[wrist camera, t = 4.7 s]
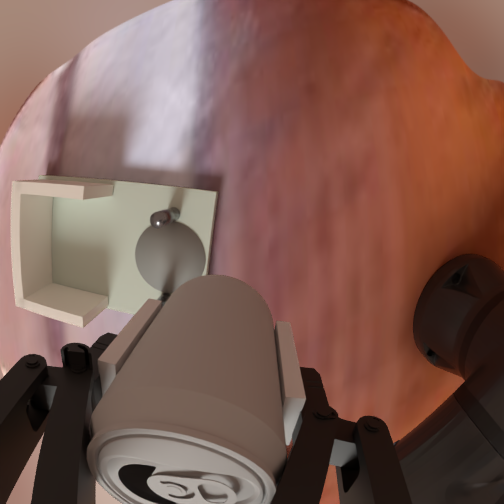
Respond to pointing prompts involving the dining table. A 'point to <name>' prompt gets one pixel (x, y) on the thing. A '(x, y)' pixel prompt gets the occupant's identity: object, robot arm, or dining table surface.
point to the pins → (159, 221)
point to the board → (131, 241)
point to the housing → (47, 251)
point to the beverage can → (195, 404)
